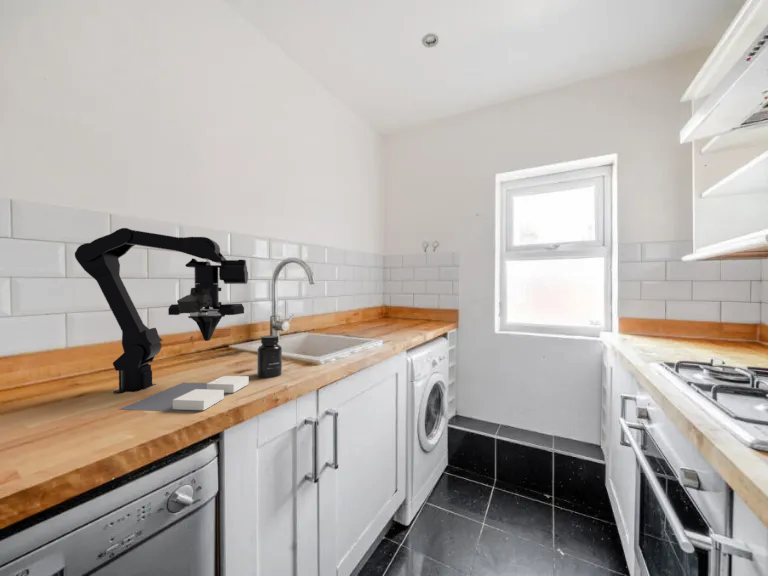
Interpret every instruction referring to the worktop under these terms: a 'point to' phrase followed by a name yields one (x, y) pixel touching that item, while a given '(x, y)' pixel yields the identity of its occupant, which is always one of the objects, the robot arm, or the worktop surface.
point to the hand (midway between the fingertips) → (207, 340)
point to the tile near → (198, 399)
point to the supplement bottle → (269, 358)
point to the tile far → (229, 383)
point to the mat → (166, 398)
